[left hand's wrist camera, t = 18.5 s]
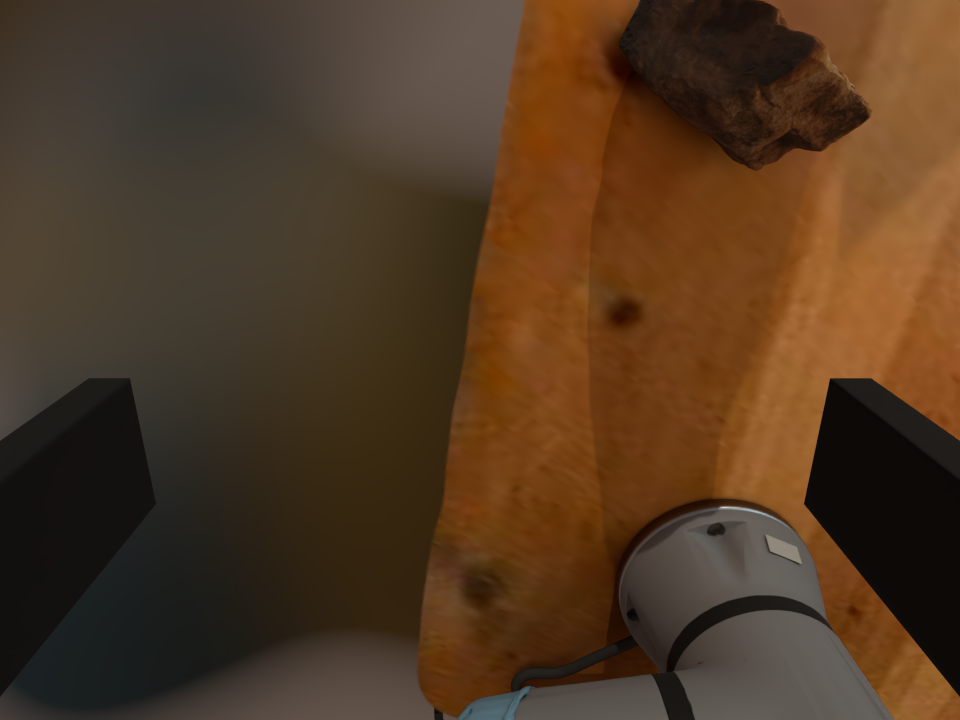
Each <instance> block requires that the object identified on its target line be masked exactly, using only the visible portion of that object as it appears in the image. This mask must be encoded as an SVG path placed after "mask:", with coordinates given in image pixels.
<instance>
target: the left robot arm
mask: <svg viewBox="0 0 960 720" xmlns="http://www.w3.org/2000/svg"><path fill="white" fill-rule="evenodd" d="M155 504H156V502H155V497H154V492H153V488H152V483H151V478H150V473H149V468H148V464H147V459H146V454H145V449H144V444H143V439H142V435H141V430H140V425H139V421H138V415H137V411H136V406H135V401H134V396H133V392H132V387H131V382H130V379H129V378H89V379H87V380H86V381H85V382H83V383H82V384H80V385H79V386H77V387H76V388H75V389H73V390H72V391H70V392H69V393H68V394H66V395H65V396H63V397H62V398H60V399H59V400H58V401H56V402H55V403H53V404H52V405H50V406H49V407H48V408H46V409H45V410H43V411H42V412H41V413H39V414H38V415H36V416H35V417H33V418H32V419H31V420H29V421H28V422H26V423H25V424H23V425H22V426H21V427H19V428H18V429H16V430H15V431H14V432H12V433H11V434H9V435H8V436H6V437H5V438H4V439H2V440H1V441H0V696H1V695H2V694H3V693H4V691H5V690H6V689H7V688H8V686H9V685H10V684H11V683H12V681H13V680H14V679H15V678H16V676H17V675H18V674H19V673H20V671H21V670H22V669H23V668H24V667H25V665H26V664H27V663H28V662H29V660H30V659H31V658H32V657H33V655H34V654H35V653H36V652H37V650H38V649H39V648H40V647H41V645H42V644H43V643H44V642H45V641H46V639H47V638H48V637H49V636H50V634H51V633H52V632H53V631H54V629H55V628H56V627H57V626H58V624H59V623H60V622H61V621H62V620H63V618H64V617H65V616H66V615H67V613H68V612H69V611H70V610H71V608H72V607H73V606H74V605H75V603H76V602H77V601H78V600H79V599H80V597H81V596H82V595H83V593H84V592H85V591H86V590H87V589H88V587H89V586H90V585H91V584H92V582H93V581H94V580H95V579H96V577H97V576H98V575H99V574H100V573H101V571H102V570H103V569H104V567H105V566H106V565H107V564H108V563H109V561H110V560H111V559H112V558H113V556H114V555H115V554H116V553H117V551H118V550H119V549H120V548H121V547H122V545H123V544H124V543H125V542H126V540H127V539H128V538H129V537H130V535H131V534H132V533H133V532H134V530H135V529H136V528H137V527H138V526H139V524H140V523H141V522H142V521H143V519H144V518H145V517H146V516H147V514H148V513H149V512H150V511H151V509H152V508H153V507H154V506H155ZM804 504H805V506H806V507H807V508H808V509H809V511H810V512H811V513H812V514H813V516H814V517H815V518H816V519H817V521H818V522H819V523H820V524H821V526H822V527H823V528H824V529H825V530H826V532H827V533H828V534H829V535H830V537H831V538H832V539H833V540H834V542H835V543H836V544H837V545H838V547H839V548H840V549H841V550H842V551H843V553H844V554H845V555H846V556H847V558H848V559H849V560H850V561H851V563H852V564H853V565H854V566H855V568H856V569H857V570H858V571H859V573H860V574H861V575H862V576H863V577H864V579H865V580H866V581H867V582H868V584H869V585H870V586H871V587H872V589H873V590H874V591H875V592H876V594H877V595H878V596H879V597H880V599H881V600H882V601H883V602H884V603H885V605H886V606H887V607H888V608H889V610H890V611H891V612H892V613H893V615H894V616H895V617H896V618H897V620H898V621H899V622H900V623H901V624H902V626H903V627H904V628H905V629H906V631H907V632H908V633H909V634H910V636H911V637H912V638H913V639H914V641H915V642H916V643H917V644H918V646H919V647H920V648H921V649H922V650H923V652H924V653H925V654H926V655H927V657H928V658H929V659H930V660H931V662H932V663H933V664H934V665H935V667H936V668H937V669H938V670H939V671H940V673H941V674H942V675H943V676H944V678H945V679H946V680H947V681H948V683H949V684H950V685H951V686H952V688H953V689H954V690H955V691H956V693H957V694H958V695H959V696H960V441H959V440H958V439H956V438H955V437H954V436H952V435H951V434H949V433H948V432H946V431H945V430H944V429H942V428H941V427H939V426H938V425H937V424H935V423H934V422H932V421H931V420H929V419H928V418H927V417H925V416H924V415H922V414H921V413H919V412H918V411H917V410H915V409H914V408H912V407H911V406H910V405H908V404H907V403H905V402H904V401H902V400H901V399H900V398H898V397H897V396H895V395H894V394H892V393H891V392H890V391H888V390H887V389H885V388H884V387H883V386H881V385H880V384H878V383H877V382H875V381H874V380H873V379H871V378H830V382H829V387H828V391H827V396H826V401H825V406H824V411H823V415H822V420H821V425H820V430H819V435H818V439H817V444H816V449H815V454H814V459H813V463H812V468H811V473H810V478H809V483H808V487H807V492H806V497H805V502H804ZM616 591H617V598H618V602H619V606H620V609H621V613H622V616H623V619H624V621H625V623H626V625H627V627H628V629H629V631H630V633H631V636H629V637H627V638H625V639H622V640H620V641H618V642H616V643H613V644H611V645H609V646H607V647H604V648H602V649H600V650H597V651H595V652H593V653H591V654H589V655H587V656H585V657H582V658H580V659H578V660H576V661H574V662H571V663H569V664H566V665H563V666H559V667H554V668H537V667H535V668H527V669H524V670H522V671H520V672H519V673H518V674H517V675H516V676H515V677H514V678H513V680H512V683H511V691H512V692H511V693H506V694H501V695H495V696H490V697H484V698H480V699H477V700H475V701H474V702H472V703H471V704H469V705H468V706H467V707H466V708H465V709H464V710H463V712H462V713H461V715H460V716H459V718H458V720H894V719H893V717H892V716H891V714H890V713H889V711H888V710H887V708H886V707H885V705H884V704H883V702H882V701H881V699H880V698H879V697H878V695H877V694H876V692H875V691H874V689H873V688H872V686H871V685H870V683H869V682H868V680H867V679H866V678H865V676H864V675H863V673H862V672H861V670H860V669H859V667H858V666H857V664H856V663H855V661H854V660H853V658H852V657H851V656H850V654H849V653H848V651H847V650H846V648H845V647H844V645H843V644H842V642H841V641H840V639H839V638H838V637H837V635H836V634H835V632H834V631H833V629H832V628H831V626H830V625H829V623H828V622H827V619H826V614H825V608H824V603H823V599H822V594H821V590H820V586H819V582H818V575H817V571H816V567H815V564H814V561H813V559H812V557H811V555H810V552H809V550H808V548H807V547H806V545H805V544H804V542H803V541H802V539H801V538H800V536H799V535H798V534H797V532H796V531H795V530H794V529H793V527H792V526H791V525H790V524H789V523H788V522H787V521H786V520H785V519H784V518H782V517H781V516H779V515H778V514H777V513H775V512H773V511H771V510H770V509H767V508H765V507H763V506H760V505H757V504H754V503H751V502H746V501H741V500H733V499H714V500H706V501H700V502H695V503H692V504H688V505H685V506H682V507H680V508H677V509H675V510H673V511H670V512H668V513H666V514H665V515H663V516H661V517H659V518H658V519H656V520H655V521H654V522H652V523H651V524H650V525H648V526H647V527H646V528H645V529H644V530H643V531H642V532H641V533H640V534H639V535H638V536H637V537H636V538H635V539H634V540H633V542H632V543H631V544H630V546H629V547H628V549H627V550H626V552H625V554H624V556H623V558H622V560H621V563H620V566H619V569H618V573H617V580H616ZM638 645H639V646H640V647H641V648H642V649H643V651H644V652H645V653H646V654H647V656H648V657H649V658H650V659H651V661H652V662H653V663H654V664H655V666H656V667H657V668H658V669H659V671H660V672H661V673H659V674H647V675H639V676H631V677H624V678H616V679H609V680H601V681H593V682H586V683H578V684H568V685H559V686H550V687H541V688H535V687H532V686H526V687H524V688H522V689H521V685H522V684H523V682H525V681H527V680H529V679H556V678H562V677H565V676H568V675H571V674H574V673H577V672H579V671H581V670H583V669H586V668H588V667H590V666H592V665H594V664H596V663H598V662H601V661H603V660H605V659H608V658H610V657H612V656H615V655H617V654H619V653H622V652H624V651H626V650H628V649H631V648H633V647H635V646H638ZM434 719H435V720H444V719H443V712H440V711H439V710H437V709H436V708H434Z"/></svg>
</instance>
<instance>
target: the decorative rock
mask: <svg viewBox="0 0 960 720" xmlns="http://www.w3.org/2000/svg"><path fill="white" fill-rule="evenodd" d="M619 47H620V49H621V50H622V51H623V52H624V54H625V56H626V58H627V60H628V61H629V63H630V65H631V66H632V67H633V69H634V70H635V71H636V72H637V73H638V74H639V76H640V77H641V78H642V79H643V80H644V81H645V82H646V84H647V86H648V87H649V88H650V89H651V90H652V91H653V92H654V93H655V94H657V95H659V96H661V97H662V99H663V100H664V102H665V103H666V104H667V105H668V106H669V107H670V108H671V109H672V110H674V111H675V112H676V113H677V114H678V115H679V116H680V117H682V118H683V119H685V120H686V121H688V122H689V123H691V124H692V125H694V126H695V127H696V128H698V129H699V130H700V131H702V132H704V133H706V134H708V135H709V136H711V137H712V138H713V139H714V140H715V141H716V142H717V143H718V144H719V145H720V146H721V148H722V149H723V150H724V151H725V153H726V154H727V155H728V156H730V157H731V158H732V159H733V160H734V161H736V162H738V163H740V164H745V165H746V166H747V167H749V168H751V169H753V170H756V171H757V170H760V169H762V167H763V166H764V165H766V164H770V163H773V162H776V161H777V160H779V159H780V158H781V157H782V156H783V155H784V154H786V153H787V152H789V151H791V150H792V149H794V148H801V149H805V150H810V151H822V150H824V149H826V148H828V146H829V145H830V144H831V143H834V142H836V141H837V140H839V139H840V138H841V137H843V136H844V135H846V134H848V133H849V132H851V131H852V130H854V129H855V128H857V127H859V126H860V125H862V124H863V123H864V122H865V121H866V120H868V119H869V118H870V117H871V113H872V109H871V107H870V106H869V104H868V103H867V102H866V101H865V100H864V99H863V97H862V96H860V95H859V94H858V92H857V90H856V88H855V86H854V85H853V84H851V83H850V82H849V80H848V78H847V76H846V75H845V74H843V73H842V72H840V71H839V70H838V69H837V67H836V66H835V65H833V64H832V63H831V60H830V57H829V54H828V51H827V49H826V47H825V45H824V44H823V43H822V42H821V41H820V40H819V39H818V38H817V37H815V36H812V35H809V34H807V33H804V32H799V31H794V30H791V29H790V28H789V27H788V24H787V22H786V21H785V19H783V18H782V15H781V12H780V10H779V9H777V8H776V7H774V6H772V5H771V4H768V3H766V2H763V1H759V0H640V2H639V5H638V6H637V8H636V10H635V12H634V14H633V16H632V18H631V20H630V22H629V24H628V26H627V28H626V30H625V31H624V33H623V35H622V37H621V40H620V42H619Z"/></svg>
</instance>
